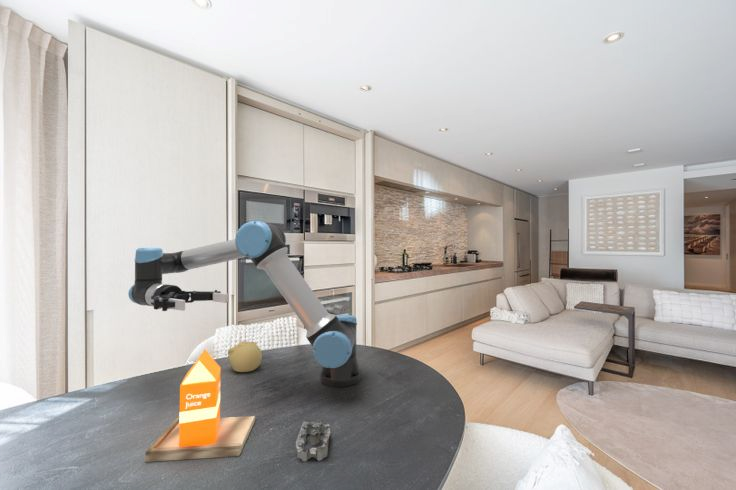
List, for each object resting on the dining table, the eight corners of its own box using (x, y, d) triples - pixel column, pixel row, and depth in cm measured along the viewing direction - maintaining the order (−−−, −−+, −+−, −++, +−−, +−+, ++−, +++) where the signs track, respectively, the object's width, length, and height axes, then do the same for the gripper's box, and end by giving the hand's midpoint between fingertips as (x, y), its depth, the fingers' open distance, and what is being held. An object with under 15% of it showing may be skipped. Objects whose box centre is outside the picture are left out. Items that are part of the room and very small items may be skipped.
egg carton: (326, 463, 68) (327, 444, 68) (293, 463, 68) (293, 444, 68) (331, 433, 79) (332, 418, 79) (302, 434, 79) (302, 418, 79)
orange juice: (178, 450, 69) (179, 362, 70) (186, 428, 78) (187, 349, 78) (216, 443, 72) (217, 358, 72) (220, 423, 80) (221, 346, 81)
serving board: (254, 421, 84) (255, 413, 84) (239, 455, 70) (239, 445, 70) (177, 425, 82) (177, 417, 82) (145, 462, 68) (145, 451, 68)
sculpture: (249, 361, 128) (250, 336, 128) (267, 368, 121) (267, 341, 121) (223, 370, 119) (223, 342, 119) (240, 378, 112) (241, 348, 112)
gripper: (201, 302, 110) (242, 307, 100) (118, 315, 87) (161, 323, 78) (201, 281, 110) (242, 284, 100) (119, 288, 88) (161, 294, 78)
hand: (207, 301), depth 89 cm, fingers open, 13 cm apart
